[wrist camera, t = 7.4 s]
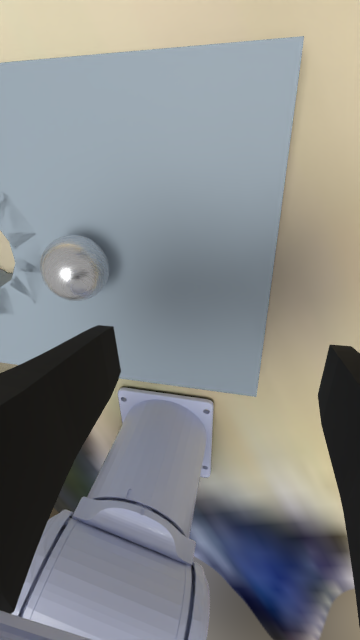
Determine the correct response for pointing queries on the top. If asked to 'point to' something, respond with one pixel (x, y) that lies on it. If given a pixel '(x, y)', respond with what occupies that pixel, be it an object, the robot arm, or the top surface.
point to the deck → (150, 202)
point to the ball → (74, 267)
